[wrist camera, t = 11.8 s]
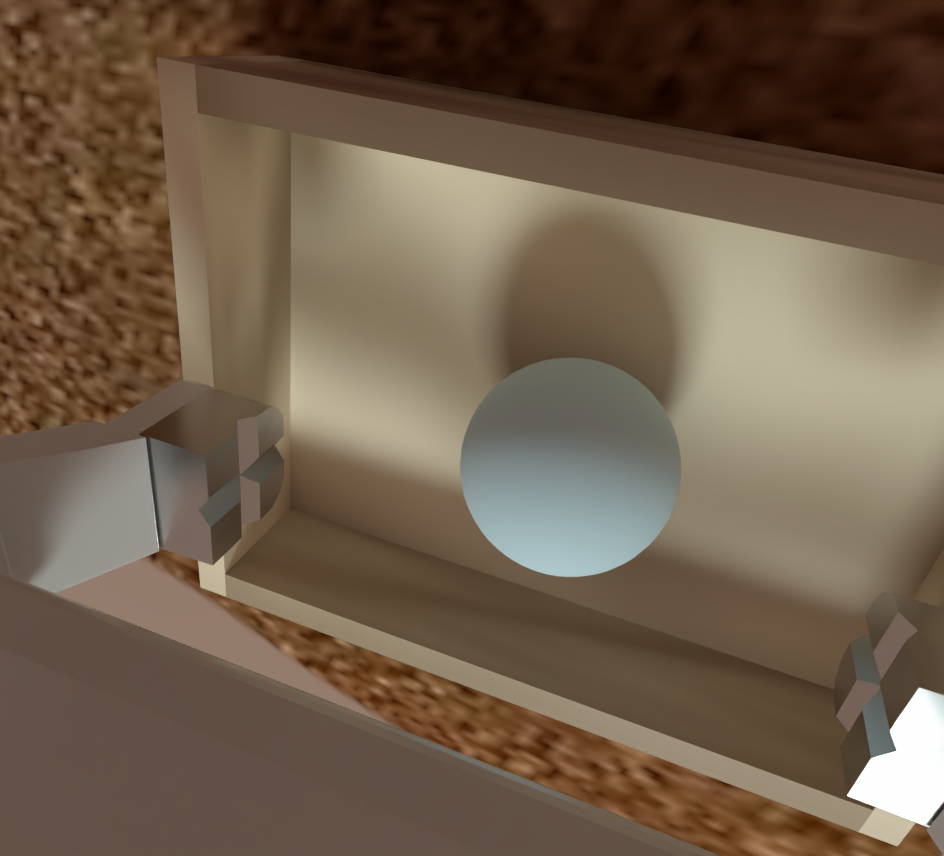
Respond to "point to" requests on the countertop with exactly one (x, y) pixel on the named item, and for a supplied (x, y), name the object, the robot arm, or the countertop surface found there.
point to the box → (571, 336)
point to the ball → (570, 467)
